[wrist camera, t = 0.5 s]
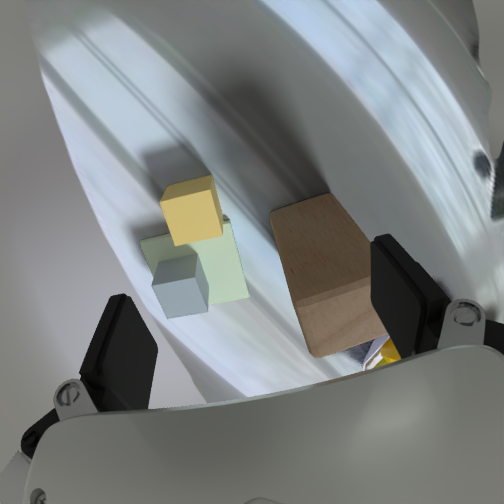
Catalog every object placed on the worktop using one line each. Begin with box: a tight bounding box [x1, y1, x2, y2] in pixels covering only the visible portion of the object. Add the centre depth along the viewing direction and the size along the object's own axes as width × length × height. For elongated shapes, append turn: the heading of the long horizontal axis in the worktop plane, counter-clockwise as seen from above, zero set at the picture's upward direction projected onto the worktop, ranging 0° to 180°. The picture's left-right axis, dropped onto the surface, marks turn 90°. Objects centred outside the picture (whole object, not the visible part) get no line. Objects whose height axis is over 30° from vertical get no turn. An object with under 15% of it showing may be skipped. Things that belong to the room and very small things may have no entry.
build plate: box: [139, 220, 249, 305], centre depth 49 cm, size 14×14×1 cm
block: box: [269, 193, 388, 358], centre depth 38 cm, size 10×10×20 cm
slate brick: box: [152, 254, 209, 319], centre depth 46 cm, size 6×6×6 cm
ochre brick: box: [160, 175, 223, 246], centre depth 41 cm, size 6×6×6 cm
